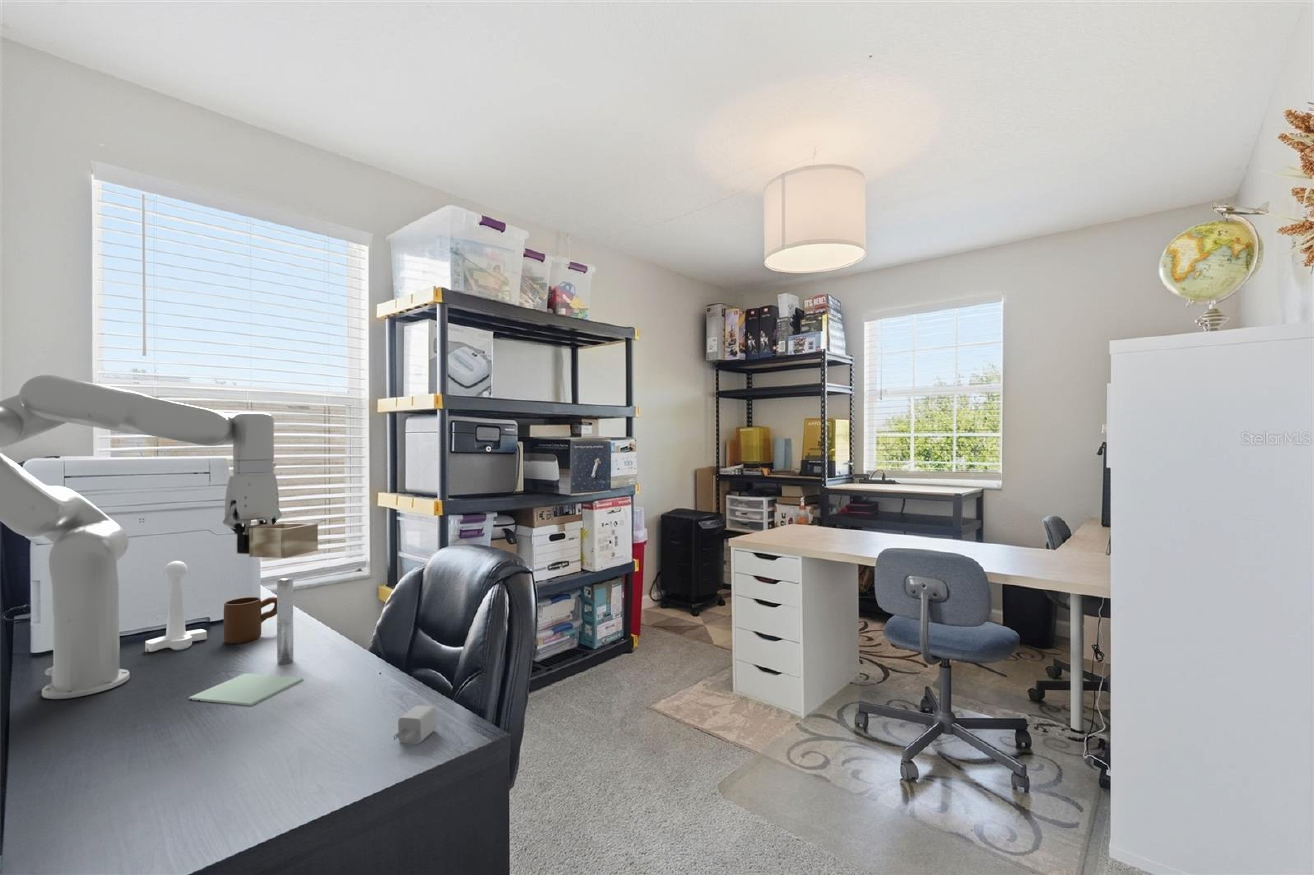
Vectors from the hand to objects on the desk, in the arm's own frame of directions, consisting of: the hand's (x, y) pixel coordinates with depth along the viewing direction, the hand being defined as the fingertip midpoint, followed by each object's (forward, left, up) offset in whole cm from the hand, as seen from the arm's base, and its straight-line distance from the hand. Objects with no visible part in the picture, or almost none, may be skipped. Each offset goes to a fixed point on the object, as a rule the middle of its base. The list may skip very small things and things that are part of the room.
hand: (254, 550), depth 133 cm
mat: (+13, -14, -24) cm, 31 cm away
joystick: (-26, +4, -24) cm, 36 cm away
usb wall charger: (+57, -25, -24) cm, 67 cm away
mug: (-14, +13, -24) cm, 31 cm away
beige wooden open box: (+5, 0, -1) cm, 5 cm away
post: (+8, 0, -24) cm, 26 cm away
